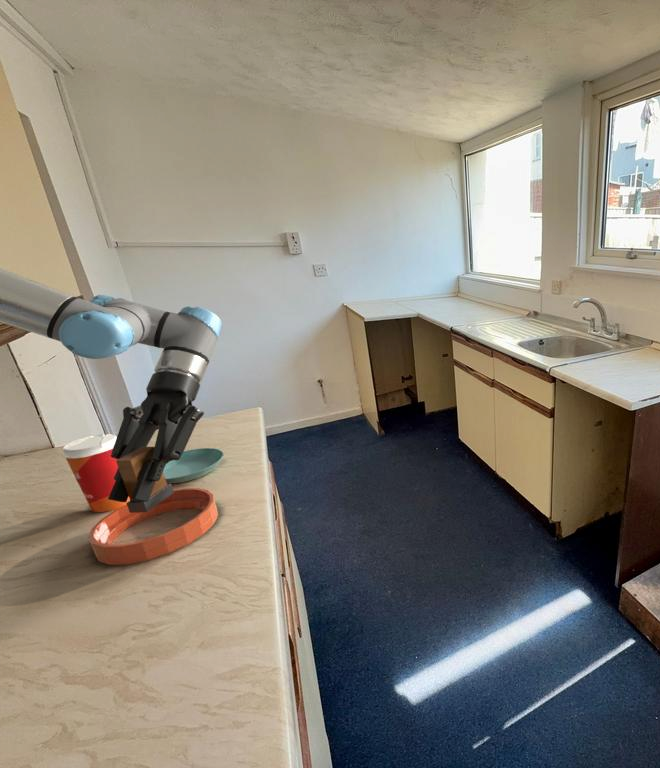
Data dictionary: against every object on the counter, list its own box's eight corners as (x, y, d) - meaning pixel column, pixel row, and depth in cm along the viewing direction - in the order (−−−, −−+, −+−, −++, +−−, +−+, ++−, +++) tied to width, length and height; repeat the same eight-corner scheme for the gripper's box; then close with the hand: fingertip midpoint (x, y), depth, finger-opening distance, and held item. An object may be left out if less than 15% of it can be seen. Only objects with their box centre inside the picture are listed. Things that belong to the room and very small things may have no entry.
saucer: (136, 494, 86) (133, 484, 85) (161, 463, 99) (158, 454, 98) (217, 480, 92) (215, 470, 91) (231, 452, 105) (229, 443, 104)
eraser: (147, 512, 69) (129, 461, 66) (129, 512, 69) (111, 462, 66) (174, 492, 75) (158, 445, 72) (157, 493, 75) (141, 445, 72)
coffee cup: (100, 500, 84) (76, 436, 80) (147, 492, 87) (127, 430, 82) (75, 523, 77) (47, 454, 72) (128, 514, 80) (104, 447, 75)
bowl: (67, 570, 66) (57, 547, 64) (153, 507, 82) (147, 488, 81) (173, 567, 66) (166, 545, 65) (238, 505, 82) (233, 487, 81)
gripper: (230, 386, 81) (191, 503, 71) (151, 387, 81) (99, 505, 70) (206, 368, 75) (159, 495, 64) (119, 369, 74) (57, 497, 64)
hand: (128, 500), depth 67 cm, fingers closed on eraser, 3 cm apart
